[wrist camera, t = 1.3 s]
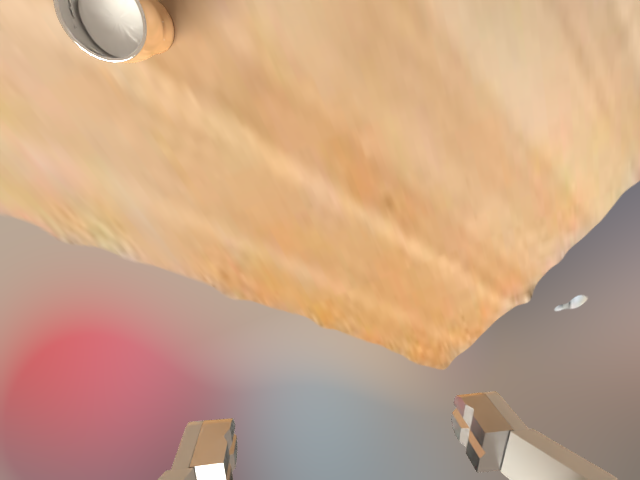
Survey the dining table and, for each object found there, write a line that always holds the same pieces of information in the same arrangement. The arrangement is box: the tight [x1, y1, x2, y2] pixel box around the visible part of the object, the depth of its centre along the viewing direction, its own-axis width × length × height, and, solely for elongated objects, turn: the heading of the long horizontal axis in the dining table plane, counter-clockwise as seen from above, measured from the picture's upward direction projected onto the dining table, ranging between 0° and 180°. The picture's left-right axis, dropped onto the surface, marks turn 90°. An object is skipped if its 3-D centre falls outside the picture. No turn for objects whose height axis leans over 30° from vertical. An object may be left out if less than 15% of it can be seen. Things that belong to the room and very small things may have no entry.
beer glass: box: [53, 0, 174, 63], centre depth 31 cm, size 7×7×15 cm
